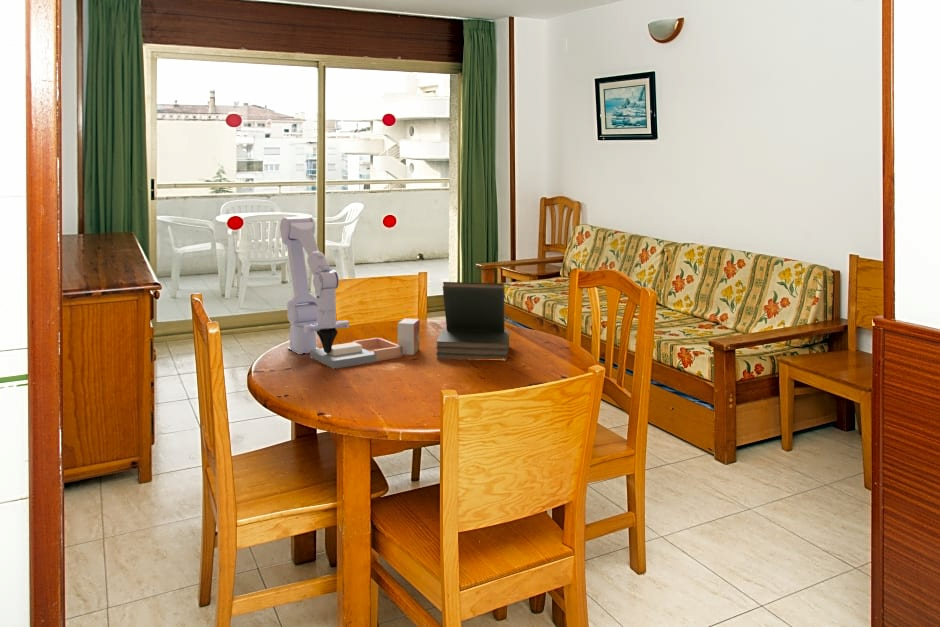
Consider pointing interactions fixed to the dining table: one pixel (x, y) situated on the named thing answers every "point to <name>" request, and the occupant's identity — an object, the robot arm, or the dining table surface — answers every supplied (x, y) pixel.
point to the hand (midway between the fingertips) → (327, 352)
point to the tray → (381, 348)
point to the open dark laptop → (473, 322)
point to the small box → (409, 335)
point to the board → (343, 358)
